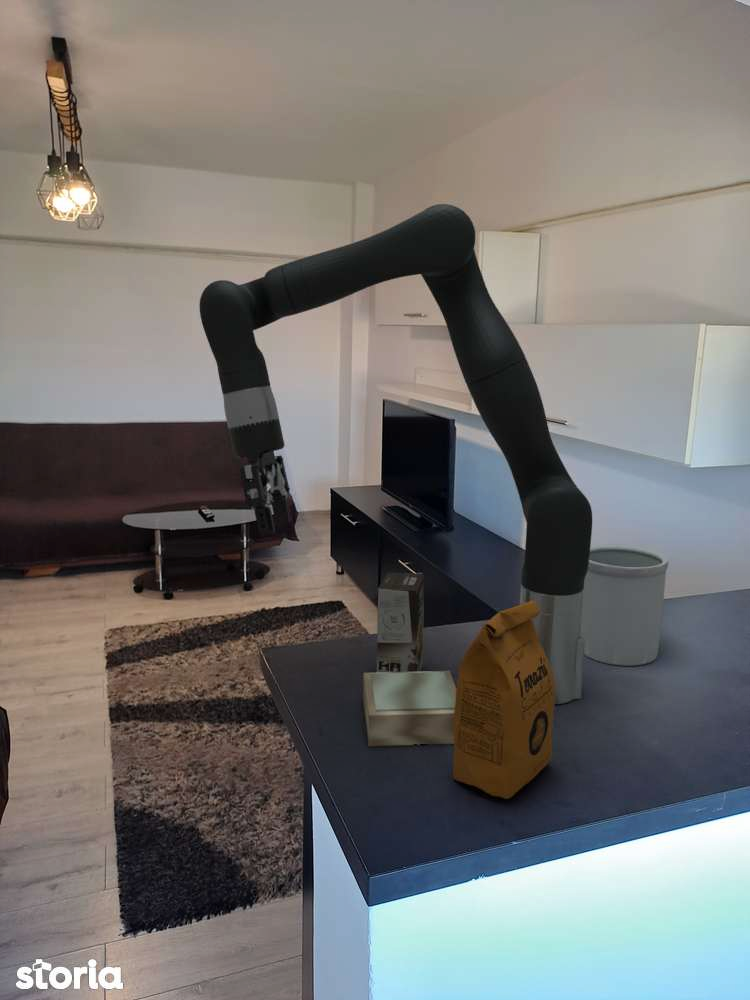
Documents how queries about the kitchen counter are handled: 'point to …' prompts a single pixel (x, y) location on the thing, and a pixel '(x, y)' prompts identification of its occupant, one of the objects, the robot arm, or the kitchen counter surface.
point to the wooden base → (409, 707)
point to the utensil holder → (623, 604)
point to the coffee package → (504, 705)
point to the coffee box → (400, 623)
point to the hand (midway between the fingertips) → (276, 528)
